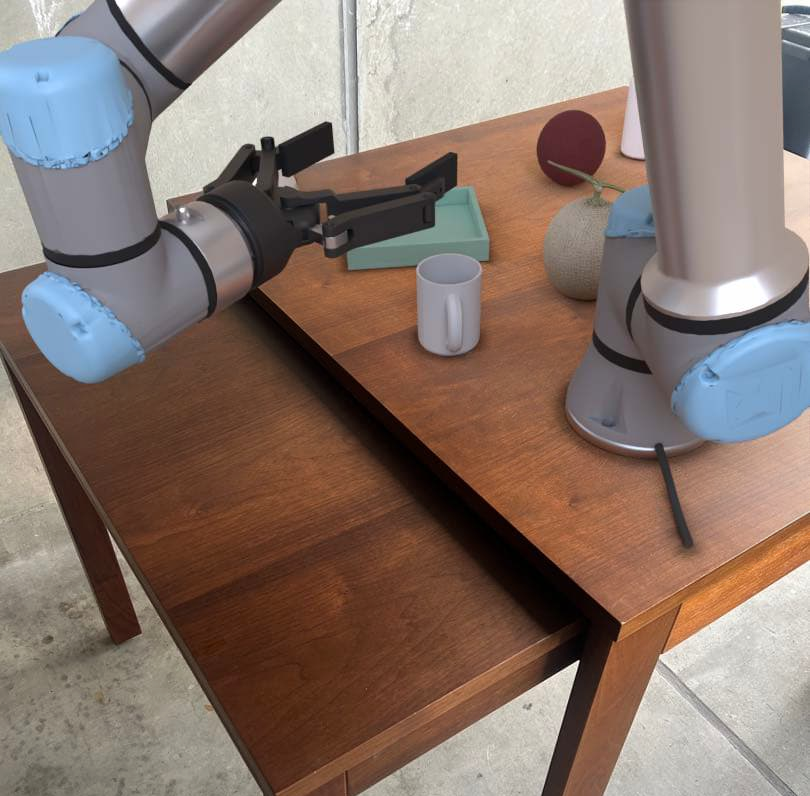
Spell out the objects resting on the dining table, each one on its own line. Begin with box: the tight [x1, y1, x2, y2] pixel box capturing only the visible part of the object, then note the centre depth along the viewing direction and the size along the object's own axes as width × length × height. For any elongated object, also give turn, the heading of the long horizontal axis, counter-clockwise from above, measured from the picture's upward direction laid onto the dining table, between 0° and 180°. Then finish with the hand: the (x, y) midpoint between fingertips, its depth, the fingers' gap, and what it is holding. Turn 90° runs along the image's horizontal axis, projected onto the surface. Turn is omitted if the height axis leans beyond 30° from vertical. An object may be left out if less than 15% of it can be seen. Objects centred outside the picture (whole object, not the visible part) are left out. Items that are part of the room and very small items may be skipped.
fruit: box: [542, 160, 627, 301], centre depth 102 cm, size 10×12×15 cm
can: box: [620, 75, 645, 161], centre depth 132 cm, size 6×6×12 cm
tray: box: [346, 185, 491, 271], centre depth 118 cm, size 17×19×3 cm
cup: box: [415, 254, 483, 357], centre depth 97 cm, size 7×10×9 cm
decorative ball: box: [536, 109, 607, 186], centre depth 126 cm, size 10×10×10 cm
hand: (389, 152), depth 77 cm, fingers open, 13 cm apart
